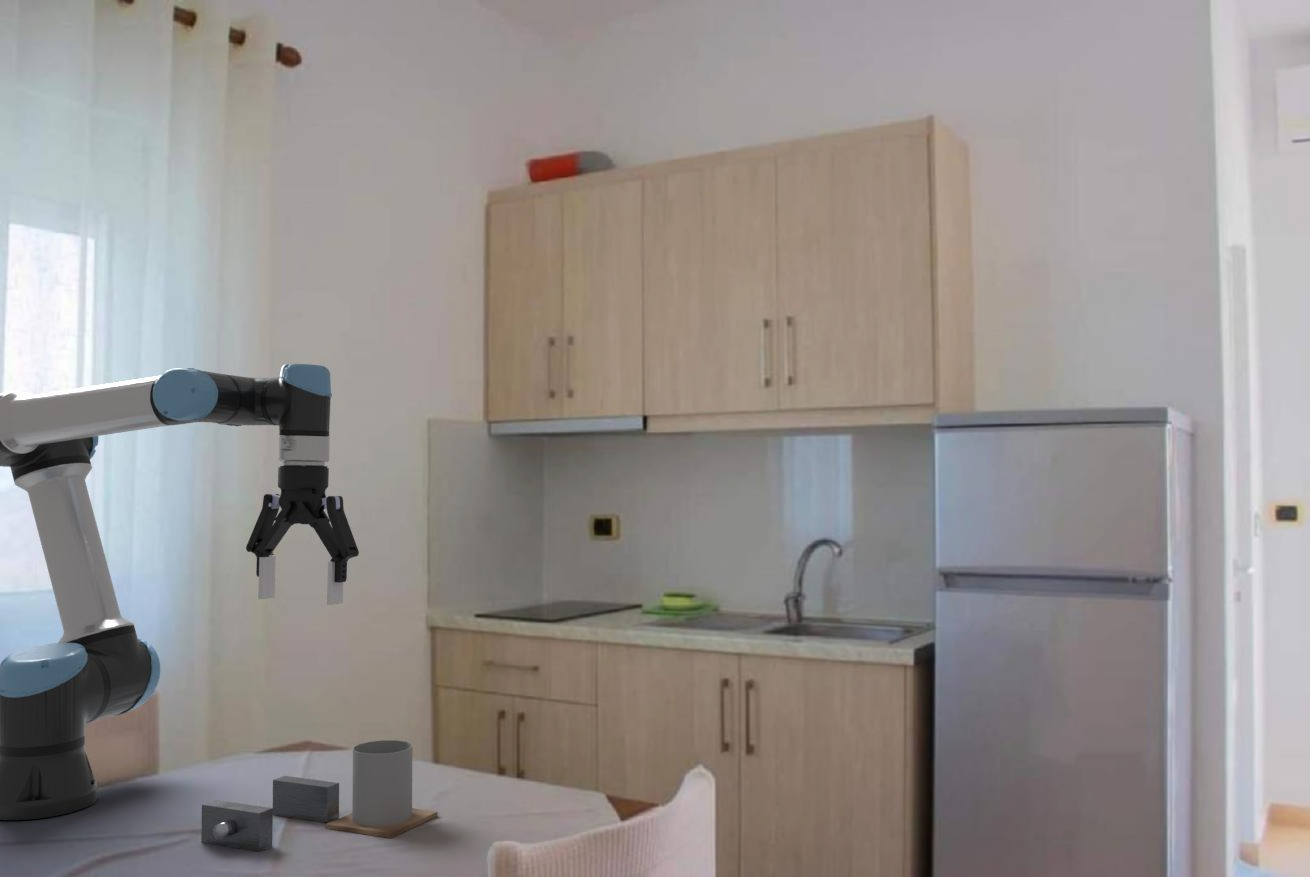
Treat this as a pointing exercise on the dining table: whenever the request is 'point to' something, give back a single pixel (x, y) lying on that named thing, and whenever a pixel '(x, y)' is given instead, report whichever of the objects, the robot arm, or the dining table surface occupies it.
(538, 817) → the dining table surface
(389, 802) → the cup
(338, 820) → the board
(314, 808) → the vise jaws
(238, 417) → the robot arm
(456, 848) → the dining table surface
